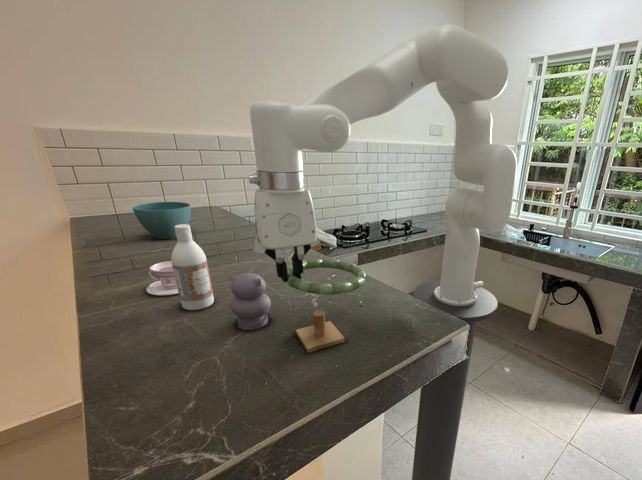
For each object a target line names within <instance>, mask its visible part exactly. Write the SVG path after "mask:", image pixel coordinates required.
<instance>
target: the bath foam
mask: <svg viewBox="0 0 642 480" xmlns="http://www.w3.org/2000/svg"><path fill="white" fill-rule="evenodd" d="M175 232H176V237H177V238H176V241H177V242H176V243H175V246H174V247H173V250H172V252H171V259H170V261H172V267H173V271H174V275H175V280H176V284H177V288H178V293H179V294H178V296H179V301H180V304H181V307H182V309H184V310H187V311H199V310H203V309H206V308H209V307H211V305H213V304H214V302H215V297H214V291H213V287H212V281H211V276H210V269H209V265H208V260H207V257H206V254H205V252H204V250H203V249H202V248H201V246H200V245H199V244H197V243H196V242H195V241H194V240H193V234H192V230H191V226H190V224H188V225H187V224H180V225H176V226H175Z"/></svg>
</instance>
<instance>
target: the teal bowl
mask: <svg viewBox="0 0 642 480" xmlns="http://www.w3.org/2000/svg"><path fill="white" fill-rule="evenodd" d="M132 212H133V213H134V215H135V217H136V219H137V221H138V222H139V224H140V225H141V227H143V229H144V230H146V231H147V232H148V233H149V234H151V236H153V237H155V238H156V239H159V240H171V239H177V237H176V232H175V226H176V225H180V224H187V225H190V221H191V215H192V207H191V204H190V203H188V202H181V201H156V202H147V203H146V202H145V203H140V204H136V205H133V206H132Z"/></svg>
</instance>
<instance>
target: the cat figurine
mask: <svg viewBox="0 0 642 480" xmlns="http://www.w3.org/2000/svg"><path fill="white" fill-rule="evenodd" d="M227 276H228V278H229V280H230V282H231V284H230V290H231V292H232V294H233V298H232V299H231V301H230V305H229V307H230V310H231V312H232V313H233V315H235V316H236V317H237V318H236V324H237V326H238V328H239V329H241V330H243V331H253V330H257V329H260V328H262V327H264V326H266V325H267V324H268V323H269V317H268V312H270V310H271V307H272V300H271V298H270V296H269V295H268V294H266V289H267V285H266V281H265V279H264V278H263V277H262V276H260V275H259V274H257V273H253V272H244V273H241V274H239V275H236V274H230V273H227Z"/></svg>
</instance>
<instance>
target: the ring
mask: <svg viewBox="0 0 642 480" xmlns="http://www.w3.org/2000/svg"><path fill="white" fill-rule="evenodd" d="M302 262H303V271H305V270H309V269H320V268H321V269H335V270H336V269H337V270H340V271H344V272H347V273H350V274H352V275H354V276H355V278H353V279H351V280H350V281H345V282H337V283H323V282H322V283H321V282H310V281H307V280H304V279H302V278H301V279H299V278H296V276H295V275H294V274H293V267H292V263H291V264H289V265H288V266H287V275H288V281H287V282H286V283H287V285H288V287H290V288H293V289H296V290H298V291H301V292H304V293H306V294H314V295H315V294H316V295H327V296H333V295H340V294H346V293H352V292H355V291H356V290H358V289H360V288H362V287H363V286H365V284H366V279H367V273H366V271H365V270H364V269H362V268H361V267H360V266H358V265H356V264H354V263H350V262H347V261H344V260H339V259H329V258H316V259H315V258H314V259H303V260H302Z"/></svg>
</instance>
